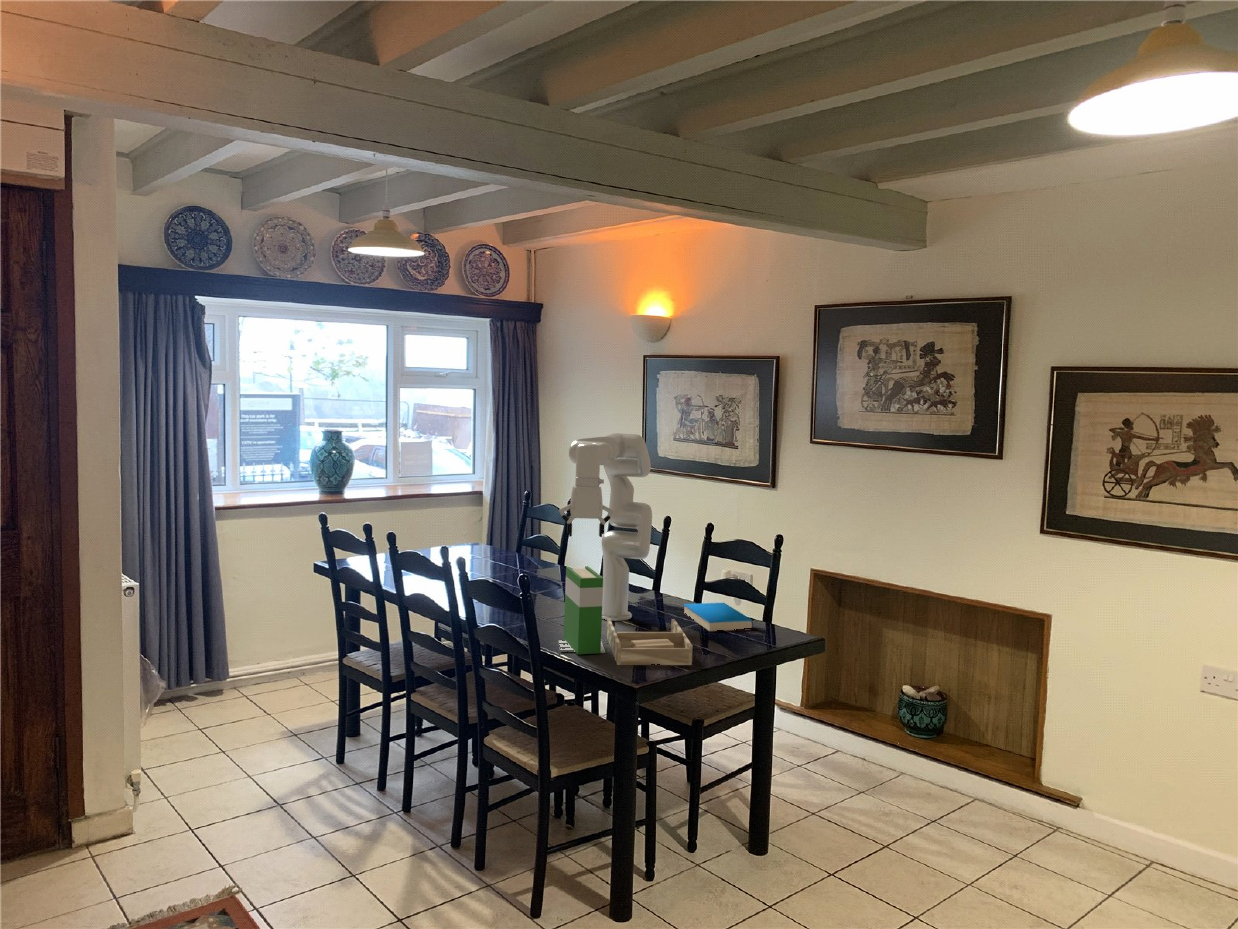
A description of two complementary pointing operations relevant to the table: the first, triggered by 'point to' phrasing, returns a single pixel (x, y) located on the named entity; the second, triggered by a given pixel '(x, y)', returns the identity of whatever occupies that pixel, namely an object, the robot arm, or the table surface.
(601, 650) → the mat
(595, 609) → the hardback book
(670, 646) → the oak offcut
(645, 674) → the table surface
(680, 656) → the rack
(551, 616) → the table surface
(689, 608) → the book
